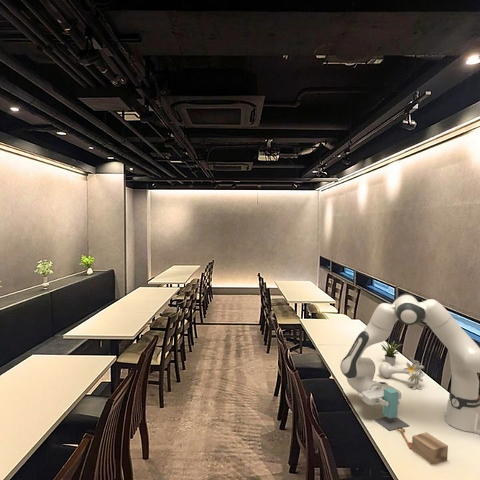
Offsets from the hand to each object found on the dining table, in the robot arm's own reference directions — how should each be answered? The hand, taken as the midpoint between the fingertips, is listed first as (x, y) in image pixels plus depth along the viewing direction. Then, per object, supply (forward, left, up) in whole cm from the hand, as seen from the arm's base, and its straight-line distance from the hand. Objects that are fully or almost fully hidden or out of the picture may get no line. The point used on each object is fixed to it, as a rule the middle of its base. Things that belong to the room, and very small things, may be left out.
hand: (393, 403), depth 172 cm
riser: (+4, +23, -10) cm, 25 cm away
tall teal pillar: (0, -2, -7) cm, 7 cm away
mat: (0, -1, -10) cm, 10 cm away
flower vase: (-40, -34, -10) cm, 53 cm away
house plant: (-56, -57, -10) cm, 80 cm away
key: (+3, +11, -10) cm, 16 cm away
